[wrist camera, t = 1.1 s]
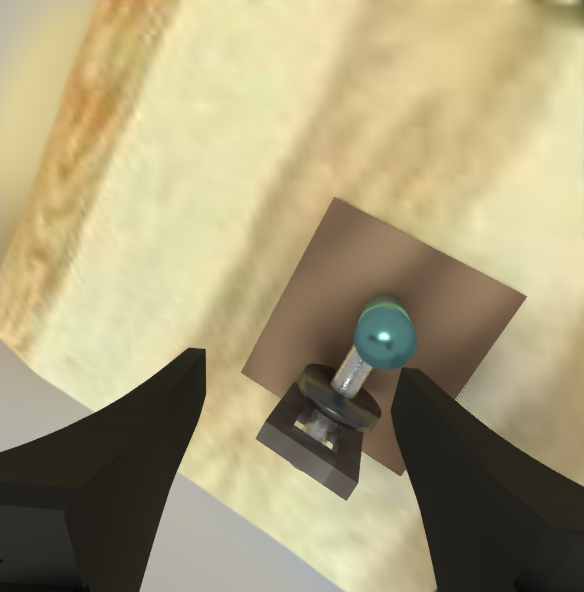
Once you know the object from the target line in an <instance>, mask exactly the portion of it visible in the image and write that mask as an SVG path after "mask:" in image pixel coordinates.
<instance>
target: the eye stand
mask: <svg viewBox="0 0 584 592" xmlns="http://www.w3.org/2000/svg"><path fill="white" fill-rule="evenodd" d="M378 294H389V295H392V296H394V297H396V298H397V299H399V300H400V302H401V303H402V304H403V306H404V308H405V310H406V312H407V314H408V316H409V318H410V320H411V322H412V324H413V326H414V328H415V331H416V334H417V348H416V351H415V353H414V355H413V357H412V358H411V359H410V360H409V361H408V362H407V363H406V364H405V365H403V366H401V367H399V368H396V369H392V370H381V369H377V368H373V369H372V371H371V372H370V374H369V376H368V377H367V379H366V380H365V382H364V384H363V385H362V387H363V388H364V389H365V390H367V391H368V392H369V393H370V394H371V396H372V397H373V398H374V399H375V400H376V402H377V403H378V405H379V407H380V409H381V417H380V418H379V420H378V422H377V423H376V425H375V426H374V428H373V429H372V430H371V431H369V432H357V431H353V430H350V429H347V428H345V427H343V426H341V425H339V424H338V425H337V427H336V428H335V430H334V431H333V433H332V435H331V436H330V438H329V439H328V441H329V442H331V443H332V444H333V447H332V450H331V449H330V448H328V447H327V446H325V445H323V444H322V443H320V442H319V441H317V440H316V439H314V438H313V437H311V436H310V435H308V434H307V433H305V432H304V431H302V430H301V429H299V428H298V427H296V426H295V425H294V423H295V422H296V420H297V421H299V422H300V423H302V424H303V425H305V424H306V422H307V421H308V419H309V417H310V416H311V414H312V412H313V411H314V409H315V408H314V407H313V406H312V405H311V404H310V403H309V401H308V400H307V399H306V398H305V397H304V395H303V394H302V392H301V390H300V388H299V385H298V379H299V377H300V375H301V374H302V372H303V370H304V368H305V367H306V366H307V365H308V364H311V363H316V364H322V365H326V366H328V367H331V368H333V369H336V370H338V369H339V367H340V366H341V364H342V362H343V361H344V359H345V357H346V356H347V354H348V352H349V351H350V349H351V347H352V346H353V344H354V333H355V330H356V327H357V324H358V321H359V319H360V316H361V314H362V311H363V308H364V306H365V304H366V302H367V301H368V300H369V299H370V298H372V297H373V296H375V295H378ZM526 297H527V296H525V295H523V294H521V293H519V292H517V291H515V290H513V289H511V288H509V287H508V286H506V285H504V284H502V283H500V282H498V281H496V280H494V279H492V278H490V277H488V276H486V275H484V274H482V273H480V272H478V271H476V270H475V269H473V268H471V267H469V266H467V265H465V264H463V263H461V262H459V261H457V260H455V259H453V258H451V257H449V256H447V255H445V254H443V253H442V252H440V251H438V250H436V249H434V248H432V247H430V246H428V245H426V244H424V243H422V242H420V241H418V240H416V239H414V238H412V237H410V236H409V235H407V234H405V233H403V232H401V231H399V230H397V229H395V228H393V227H391V226H389V225H387V224H385V223H383V222H381V221H379V220H378V219H376V218H374V217H372V216H370V215H368V214H366V213H364V212H362V211H360V210H358V209H356V208H354V207H352V206H350V205H348V204H346V203H345V202H343V201H341V200H339V199H337V198H335V197H334V198H333V200H332V202H331V204H330V206H329V208H328V209H327V211H326V213H325V215H324V217H323V219H322V221H321V223H320V225H319V226H318V228H317V230H316V232H315V234H314V236H313V238H312V240H311V241H310V243H309V245H308V247H307V249H306V251H305V253H304V255H303V257H302V258H301V260H300V262H299V264H298V266H297V268H296V270H295V272H294V274H293V275H292V277H291V279H290V281H289V283H288V285H287V287H286V289H285V290H284V292H283V294H282V296H281V298H280V300H279V302H278V304H277V306H276V307H275V309H274V311H273V313H272V315H271V317H270V319H269V321H268V322H267V324H266V326H265V328H264V330H263V332H262V334H261V336H260V338H259V339H258V341H257V343H256V345H255V347H254V349H253V351H252V353H251V355H250V356H249V358H248V360H247V362H246V364H245V366H244V368H243V370H242V371H241V373H243V374H244V375H246V376H247V377H249V378H250V379H252V380H254V381H255V382H257V383H258V384H260V385H261V386H263V387H264V388H266V389H267V390H269V391H270V392H272V393H273V394H275V395H277V396H278V397H280V398H281V400H280V402H279V403H278V405H277V406H276V407H275V409H274V410H273V411H272V413H271V414H270V416H269V417H268V418H267V420H266V421H265V423H264V425H263V426H262V428H261V430H260V432H259V433H258V435H257V437H256V439H257V440H258V441H260V442H261V443H263V444H264V445H265V446H267V447H268V448H270V449H271V450H273V451H274V452H276V453H277V454H279V455H280V456H282V457H283V458H284V459H286V460H287V461H289V462H290V463H292V464H293V465H295V466H296V467H298V468H299V469H300V470H302V471H303V472H305V473H306V474H308V475H309V476H311V477H312V478H314V479H315V480H317V481H318V482H319V483H321V484H322V485H324V486H325V487H327V488H328V489H330V490H331V491H333V492H334V493H336V494H337V495H338V496H340V497H341V498H343V499H344V500H346V501H347V499H348V498H349V496H350V495H351V493H352V492H353V490H354V489H355V487H356V486H357V484H358V480H359V470H360V460H361V451H363V452H364V453H366V454H367V455H369V456H370V457H372V458H373V459H375V460H376V461H378V462H379V463H381V464H383V465H384V466H386V467H387V468H389V469H390V470H392V471H393V472H395V473H396V474H398V475H399V476H401V475H402V474H403V472H404V471H405V470H406V466H405V463H404V460H403V458H402V455H401V452H400V449H399V446H398V443H397V440H396V437H395V432H394V427H393V422H392V417H391V411H390V410H391V406H392V402H393V399H394V395H395V391H396V387H397V384H398V380H399V376H400V373H401V369H402V367H407V368H418V369H420V370H421V371H422V372H424V373H425V374H426V375H427V376H428V377H429V378H430V379H432V380H433V381H434V382H435V383H436V384H437V385H438V386H439V387H441V388H442V389H443V390H444V391H445V392H446V393H447V394H448V395H449V396H451V397H452V398H453V399H454V400H455V398H456V397H457V396H458V394H459V393H460V391H461V390H462V389H463V387H464V386H465V384H466V383H467V381H468V380H469V379H470V377H471V376H472V374H473V373H474V371H475V370H476V369H477V367H478V366H479V364H480V363H481V361H482V360H483V359H484V357H485V356H486V354H487V353H488V351H489V350H490V349H491V347H492V346H493V344H494V343H495V342H496V340H497V339H498V337H499V336H500V334H501V333H502V332H503V330H504V329H505V327H506V326H507V324H508V323H509V322H510V320H511V319H512V317H513V316H514V314H515V313H516V312H517V310H518V309H519V307H520V306H521V305H522V303H523V302H524V300H525V299H526Z"/></svg>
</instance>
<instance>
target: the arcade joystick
mask: <svg viewBox="0 0 584 592" xmlns="http://www.w3.org/2000/svg"><path fill="white" fill-rule="evenodd" d="M416 348H417V334H416V331H415V328H414V326H413V324H412V322H411V320H410V318H409V316H408V314H407V312H406V310H405V308H404V306H403V304H402V303H401V302H400V300H399V299H397V298H396V297H394V296H392V295H389V294H378V295H375V296H373V297H372V298H370V299H369V300H368V301H367V302H366V304H365V306H364V308H363V311H362V314H361V316H360V319H359V321H358V324H357V327H356V330H355V333H354V344H353V346H352V347H351V349H350V351H349V352H348V354H347V356H346V357H345V359H344V361H343V362H342V364H341V366H340V367H339V369H338V370H336V369H333V368H331V367H328V366H326V365H322V364H316V363H311V364H308V365H307V366H306V367H305V368H304V370H303V372H302V374H301V375H300V377H299V379H298V385H299V388H300V390H301V392H302V394H303V395H304V397H305V398H306V399H307V400H308V401H309V403H310V404H311V405H312V406H313V407H314V408H315V409H314V411H313V412H312V414H311V416H310V417H309V419H308V421H307V422H306V424H305V426H304V427H303V429H302V431H304V432H305V433H307V434H308V435H310V436H311V437H313V438H314V439H316V440H317V441H319V442H320V443H322V444H323V445H325V444H326V443H327V441H328V439H329V438H330V436H331V435H332V433H333V431H334V430H335V428H336V427H337V425H338V424H339V425H341V426H343V427H345V428H347V429H350V430H353V431H357V432H369V431H371V430H372V429H373V428H374V426H375V425H376V423H377V422H378V420H379V418H380V417H381V409H380V407H379V405H378V403H377V402H376V400H375V399H374V398H373V397H372V396H371V394H370V393H369V392H368V391H367V390H365V389H364V388H363V387H362V385H363V384H364V382H365V380H366V379H367V377H368V376H369V374H370V372H371V371H372V369H373V368H377V369H381V370H392V369H396V368H399V367H401V366H403V365H405V364H406V363H407V362H408V361H409V360H410V359H411V358H412V357H413V355H414V353H415V351H416ZM291 464H292V463H291ZM292 465H293V464H292ZM293 466H294V467H295V468H296V469H298V470H300V469H299V468H298V467H296V466H295V465H293ZM300 471H302V470H300Z"/></svg>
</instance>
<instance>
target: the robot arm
mask: <svg viewBox="0 0 584 592" xmlns="http://www.w3.org/2000/svg"><path fill="white" fill-rule="evenodd" d="M205 396H206V349H198V348H188V349H186V350H185V351H184V352H183V353H181V354H180V355H179V356H178V357H176V358H175V359H174V360H173V361H171V362H170V363H169V364H168V365H166V366H165V367H164V368H163V369H161V370H160V371H159V372H157V373H156V374H155V375H153V376H152V377H151V378H150V379H148V380H147V381H145V382H144V383H142V384H141V385H139V386H138V387H137V388H135V389H134V390H132V391H131V392H129V393H128V394H126V395H125V396H123V397H122V398H120V399H118V400H117V401H115V402H113V403H111V404H110V405H108V406H106V407H104V408H103V409H101V410H99V411H97V412H95V413H93V414H91V415H89V416H87V417H85V418H83V419H81V420H79V421H78V422H75V423H73V424H71V425H69V426H67V427H65V428H63V429H60V430H58V431H55V432H53V433H51V434H48V435H46V436H44V437H41V438H38V439H36V440H33V441H31V442H28V443H26V444H23V445H20V446H17V447H14V448H12V449H9V450H6V451H3V452H0V592H139V591H140V587H141V583H142V580H143V577H144V573H145V569H146V566H147V562H148V559H149V556H150V552H151V549H152V545H153V542H154V539H155V535H156V532H157V529H158V525H159V522H160V519H161V516H162V512H163V509H164V506H165V503H166V500H167V497H168V494H169V490H170V488H171V485H172V482H173V480H174V477H175V474H176V472H177V470H178V468H179V465H180V463H181V461H182V458H183V456H184V454H185V451H186V449H187V447H188V444H189V442H190V440H191V437H192V435H193V432H194V430H195V428H196V425H197V423H198V420H199V417H200V414H201V411H202V407H203V404H204V400H205ZM390 411H391V417H392V422H393V427H394V432H395V437H396V440H397V443H398V446H399V449H400V452H401V455H402V458H403V460H404V463H405V466H406V469H407V472H408V475H409V478H410V481H411V484H412V486H413V489H414V492H415V495H416V498H417V502H418V505H419V508H420V512H421V516H422V520H423V524H424V529H425V533H426V537H427V541H428V546H429V550H430V555H431V560H432V564H433V569H434V573H435V578H436V584H437V589H438V592H584V487H583V486H581V485H580V484H578V483H576V482H574V481H572V480H570V479H568V478H566V477H565V476H563V475H561V474H559V473H557V472H556V471H554V470H552V469H550V468H549V467H547V466H545V465H544V464H542V463H540V462H539V461H537V460H536V459H534V458H532V457H531V456H529V455H527V454H526V453H524V452H523V451H521V450H520V449H518V448H517V447H515V446H514V445H512V444H511V443H509V442H508V441H506V440H505V439H504V438H502V437H501V436H499V435H498V434H496V433H495V432H494V431H492V430H491V429H490V428H488V427H487V426H486V425H484V424H483V423H482V422H481V421H479V420H478V419H477V418H476V417H474V416H473V415H472V414H471V413H469V412H468V411H467V410H466V409H465V408H463V407H462V406H461V405H460V404H459V403H457V402H456V401H455V400H454V399H453V398H452V397H451V396H449V395H448V394H447V393H446V392H445V391H444V390H443V389H442V388H441V387H439V386H438V385H437V384H436V383H435V382H434V381H433V380H432V379H430V378H429V377H428V376H427V375H426V374H425V373H424V372H422V371H421V370H420V369H418V368H407V367H402V369H401V373H400V376H399V380H398V384H397V387H396V391H395V395H394V399H393V402H392V406H391V410H390Z"/></svg>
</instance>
